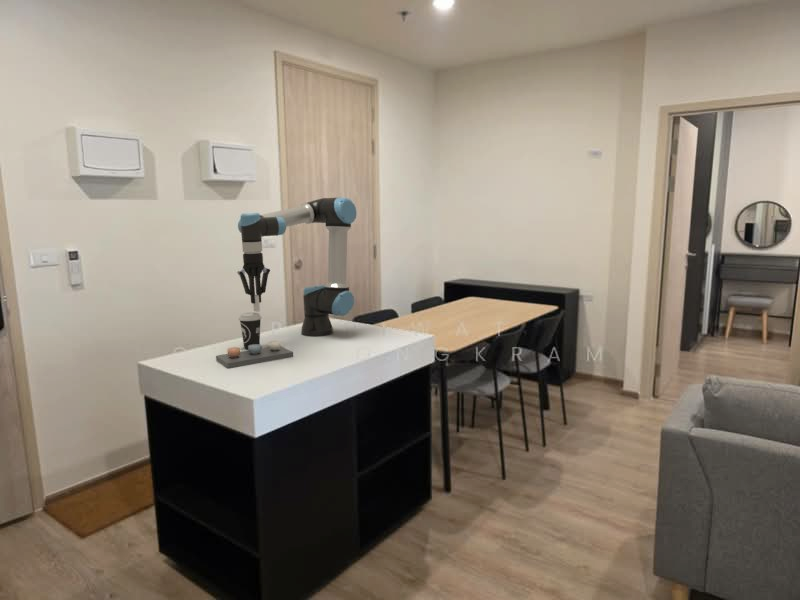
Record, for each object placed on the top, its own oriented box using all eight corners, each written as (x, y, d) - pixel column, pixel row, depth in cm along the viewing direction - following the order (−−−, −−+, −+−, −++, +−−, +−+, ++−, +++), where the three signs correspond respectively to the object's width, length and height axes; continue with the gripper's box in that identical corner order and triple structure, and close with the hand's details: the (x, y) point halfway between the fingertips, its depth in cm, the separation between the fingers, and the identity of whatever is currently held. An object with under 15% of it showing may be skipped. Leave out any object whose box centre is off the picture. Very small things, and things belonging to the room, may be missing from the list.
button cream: (277, 350, 228) (277, 340, 227) (282, 352, 224) (282, 342, 224) (267, 352, 225) (266, 342, 225) (271, 354, 222) (271, 344, 221)
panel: (279, 349, 234) (279, 345, 233) (293, 356, 222) (293, 351, 222) (216, 360, 218) (215, 355, 218) (227, 368, 207) (227, 363, 206)
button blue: (258, 353, 223) (257, 343, 223) (262, 356, 219) (262, 345, 219) (247, 355, 220) (246, 345, 220) (251, 358, 217) (250, 347, 216)
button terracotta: (238, 357, 218) (237, 346, 218) (242, 359, 215) (241, 349, 214) (226, 359, 216) (225, 348, 215) (230, 361, 212) (229, 351, 211)
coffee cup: (257, 350, 232) (255, 316, 230) (236, 350, 234) (234, 315, 232) (266, 345, 241) (265, 312, 239) (247, 344, 243) (245, 311, 241)
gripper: (264, 250, 221) (268, 307, 226) (233, 253, 214) (237, 311, 218) (272, 251, 215) (275, 310, 220) (239, 254, 208) (244, 314, 212)
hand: (256, 310), depth 219 cm, fingers closed
